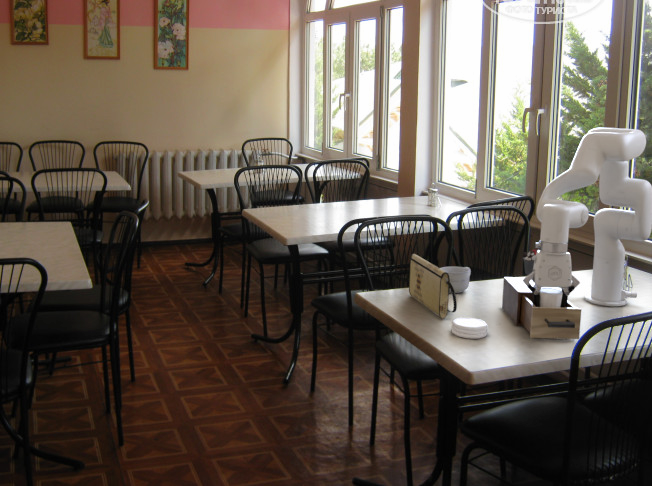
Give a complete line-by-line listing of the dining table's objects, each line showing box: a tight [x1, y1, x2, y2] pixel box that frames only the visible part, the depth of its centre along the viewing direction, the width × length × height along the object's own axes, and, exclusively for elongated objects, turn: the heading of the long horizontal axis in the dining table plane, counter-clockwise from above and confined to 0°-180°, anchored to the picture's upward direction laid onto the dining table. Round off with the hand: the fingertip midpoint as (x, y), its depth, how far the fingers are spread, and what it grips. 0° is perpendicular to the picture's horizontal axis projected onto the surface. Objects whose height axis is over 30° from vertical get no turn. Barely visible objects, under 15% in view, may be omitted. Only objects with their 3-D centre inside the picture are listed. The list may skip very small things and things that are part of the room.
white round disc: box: [451, 316, 488, 340], centre depth 214 cm, size 10×10×4 cm
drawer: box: [519, 295, 582, 340], centre depth 213 cm, size 22×13×9 cm, turn 178°
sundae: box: [521, 248, 538, 276], centre depth 266 cm, size 7×7×15 cm
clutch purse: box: [408, 253, 458, 320], centre depth 239 cm, size 30×7×15 cm, turn 12°
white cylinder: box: [539, 288, 563, 307], centre depth 213 cm, size 7×7×7 cm
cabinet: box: [501, 276, 569, 327], centre depth 229 cm, size 18×15×11 cm
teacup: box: [439, 266, 472, 294], centre depth 259 cm, size 14×11×8 cm
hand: (549, 306), depth 214 cm, fingers closed on white cylinder, 6 cm apart
